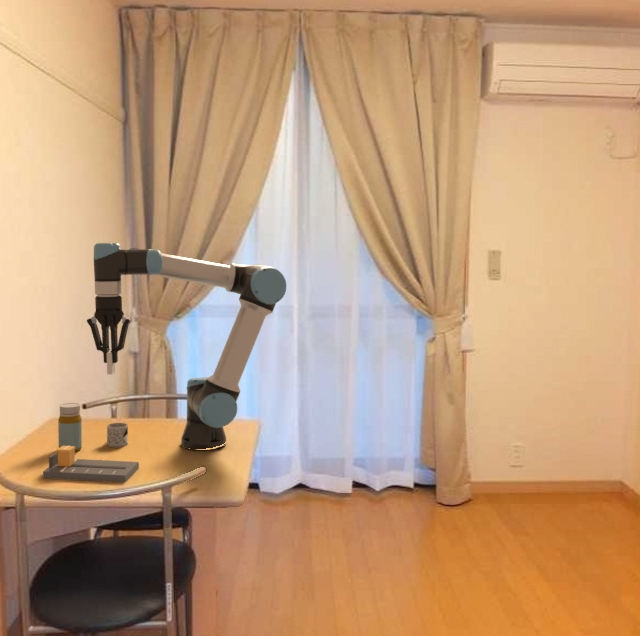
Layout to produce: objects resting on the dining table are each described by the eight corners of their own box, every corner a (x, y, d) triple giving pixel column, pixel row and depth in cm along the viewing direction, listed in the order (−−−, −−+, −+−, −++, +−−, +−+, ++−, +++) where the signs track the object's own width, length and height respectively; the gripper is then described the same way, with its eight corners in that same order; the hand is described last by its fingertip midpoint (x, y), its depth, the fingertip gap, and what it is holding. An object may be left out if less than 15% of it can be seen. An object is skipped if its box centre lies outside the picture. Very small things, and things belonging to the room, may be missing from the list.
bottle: (74, 454, 216) (73, 408, 214) (54, 452, 217) (53, 406, 216) (85, 448, 223) (85, 403, 221) (66, 446, 224) (66, 401, 223)
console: (138, 468, 205) (138, 452, 205) (125, 482, 193) (125, 465, 193) (60, 464, 206) (60, 448, 206) (43, 478, 194) (42, 461, 194)
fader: (75, 462, 202) (75, 445, 201) (70, 466, 198) (69, 449, 197) (62, 462, 202) (62, 445, 201) (57, 466, 198) (57, 449, 197)
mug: (128, 446, 226) (128, 427, 225) (107, 448, 224) (107, 428, 223) (126, 438, 235) (126, 419, 235) (106, 439, 233) (106, 420, 232)
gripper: (133, 294, 204) (136, 371, 207) (90, 294, 204) (93, 370, 207) (126, 296, 197) (129, 376, 200) (81, 296, 197) (85, 376, 200)
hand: (111, 373), depth 203 cm, fingers closed
